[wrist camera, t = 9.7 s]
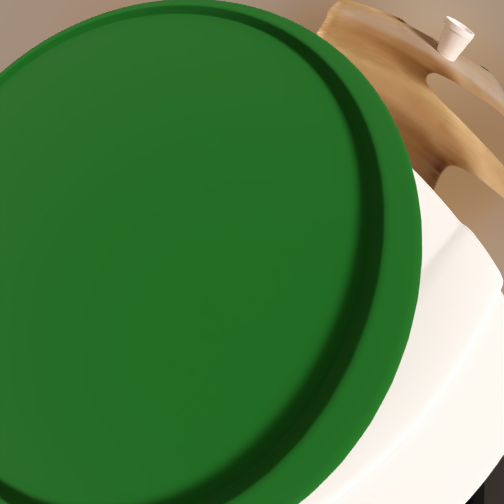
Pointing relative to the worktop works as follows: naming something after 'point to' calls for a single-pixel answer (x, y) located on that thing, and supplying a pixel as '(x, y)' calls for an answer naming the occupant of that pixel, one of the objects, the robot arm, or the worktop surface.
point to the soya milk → (231, 277)
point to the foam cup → (453, 39)
